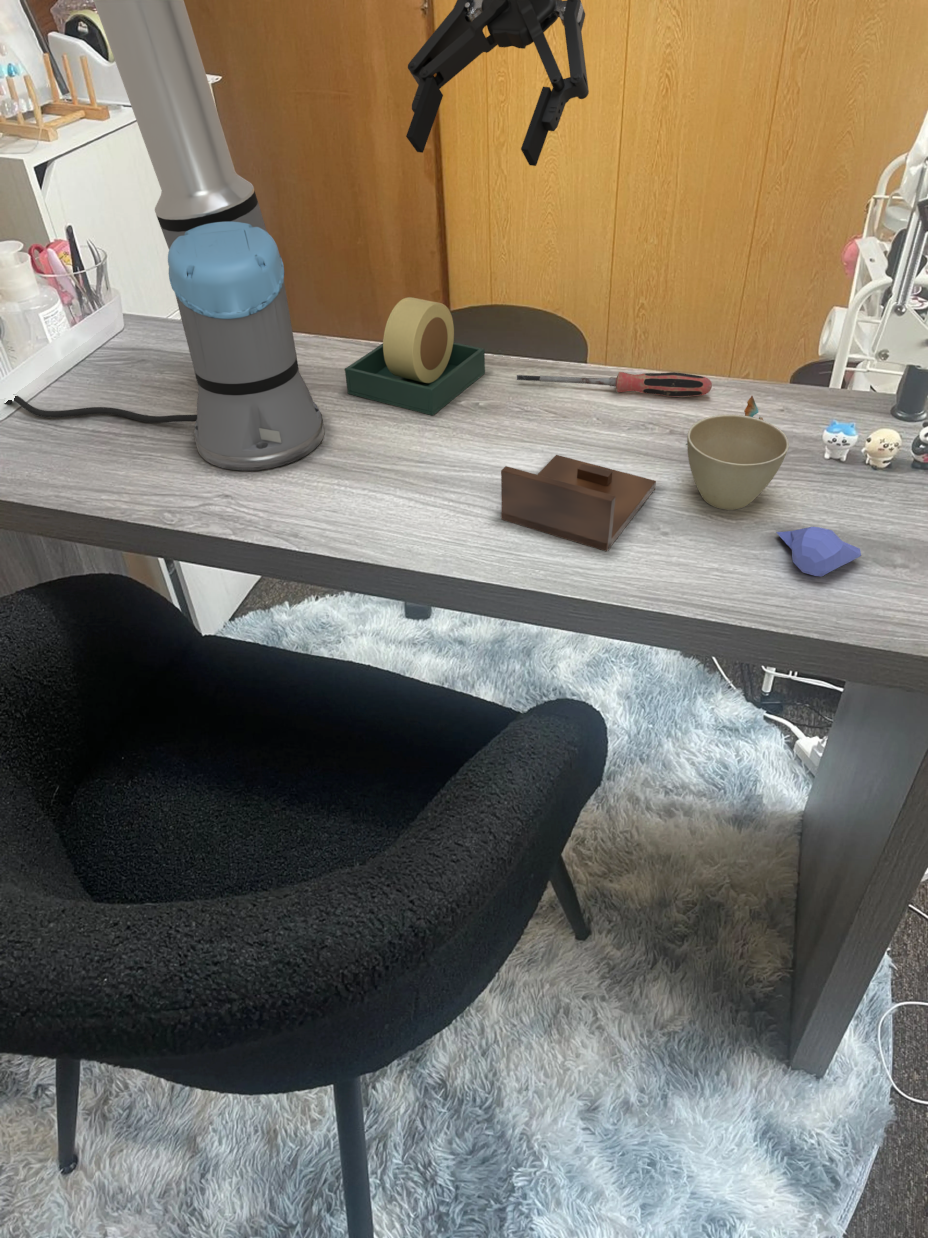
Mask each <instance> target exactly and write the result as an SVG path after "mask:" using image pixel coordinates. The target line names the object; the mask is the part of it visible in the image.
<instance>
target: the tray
mask: <svg viewBox="0 0 928 1238" xmlns="http://www.w3.org/2000/svg"><path fill="white" fill-rule="evenodd" d="M485 351H486V350H485V348H483V347H478V346H474V345H470V344H469V345H468V344H464V343H459V342H456V341H453V347H452V352H451V356H450V359H449V361H448V364H447V366H446V368H445V370H444V371H443V373H442V374H441V376H440V377H439V378H438V379H437V380H435V381H434V382H431V383H423V382H419V381H415V380H411V379H407V378H402V377H398V376H395V375H393V374H392V373H391V372H390V371H389V369H388V367H387V365H386V362H385V359H384V353H383V342H382V343H381V344H379V345H378V346H377V347H375V348H374V349H371V350H370V351H369V352H367V353H366V354H364V355H363V356H362V357H360V358H358V359H357V360H356V361H354V362H352V363H351V364H349V365H348V366H346V367H345V368H344V375H345V381H346V389H347V394H348V395H350V396H351V395H352V396H356V397H360V398H363V399H367V400H371V401H375V402H378V403H382V404H385V405H390V406H393V407H394V406H395V407H398V408H401V409H406V410H409V411H413V412H416V413H421V414H424V415H429V416H432V417H433V416H435V415H436V414H437V413H438V412H440V411H441V410H442V409H444V407H446V406H447V405H448V404H449V403H450V402H452V401H453V400H454V399H455V398H457V397H458V396H459V395H460V394H462V393H463V392H464V391H465V390H467V389H468V388H469V387H470V386H472V385H473V384H474V383H476V381H477V380H479V379H480V378H481V377H483V376H484V375H485V374H486V359H485V358H486V355H485Z"/></svg>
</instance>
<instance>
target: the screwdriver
mask: <svg viewBox="0 0 928 1238" xmlns="http://www.w3.org/2000/svg"><path fill="white" fill-rule="evenodd" d="M516 381H530V382H533V381H534V382H540V383H541V382H543V383H561V384H562V383H564V384H565V383H566V384H583V385H586V384H587V385H597V386H609V387H615V389H616V393H626V392H636V393H637V392H638V393H641V394H646V395H655V396H656V395H657V396H663V397H669V398H684V397H685V398H686V397H699V396H706V395H707V394H709V393H710V392H711V391H712V387H713V382H712V381H711V379H710V378H708V377H706V376H704V375H703V376H702V375H697V374H690V373H684V372H675V371H669V372H645V373H640V374H632V373H627V372H624V371H618V373H617V376H616V377H614V376H611V377H583V376H582V377H581V376H559V375H557V376H556V375H526V374H525V375H524V374H516Z"/></svg>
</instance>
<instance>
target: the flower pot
mask: <svg viewBox="0 0 928 1238" xmlns="http://www.w3.org/2000/svg"><path fill="white" fill-rule="evenodd" d="M686 437H687V438H686V442H687V443H686V444H687V445H686V446H687V458H688V463H689V468H690V471H691V475H692V478H693V480H694V483H695V486H696V488H697V490H698V492H699V494H700V495H701V497H702V499H703V501H704V502H705V503H707V504H708V505H710V506H712V507H714V508H717V509H720V510H727V511H734V510H735V511H736V510H741V509H743V508H745V507H748V506H749V505H750V504H751V503H752V502H753V501H754V500H755V499H756V498H757V497H759V496H760V495H761V493H762V492H763V491H765V489H766V488H767V487H768V485H769V484H770V483H771V481H772V480H773V479H774V478H775V476H776V474H777V473H778V472H779V470H780V468H781V466H782V464H783V462H784V460H785V458H786V455H787V453H788V450H789V447H790V442H789V441H790V440H789V438H788V437H787V435H786V434H785V433H784V432H783V430H781V429H780V428H778V427H777V426H776V425H774V424H772V423H771V422H769V421H766V420H764V419H763V420H761V419H759V418H757V417H754V416H753V417H749V416H745V415H742V414H729V413H727V414H717V415H716V414H715V415H711V416H707V417H703V418H701V419H699V420H698V421H696V422H695V423H693V424H692V425H691V426H690V427H689V429H688V430H687V436H686Z"/></svg>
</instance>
